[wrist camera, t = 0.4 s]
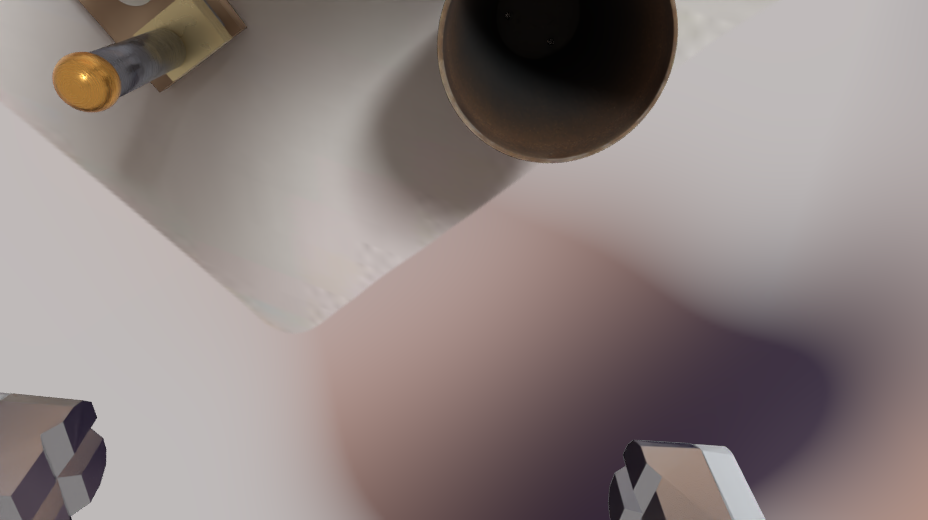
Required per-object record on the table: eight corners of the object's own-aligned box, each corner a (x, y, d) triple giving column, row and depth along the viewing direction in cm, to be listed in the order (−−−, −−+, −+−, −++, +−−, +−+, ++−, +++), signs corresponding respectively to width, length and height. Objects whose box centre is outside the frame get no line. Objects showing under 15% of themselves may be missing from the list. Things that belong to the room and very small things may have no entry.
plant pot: (415, 34, 52) (391, 78, 38) (520, -132, 45) (538, -153, 32) (547, 131, 56) (569, 202, 42) (660, -9, 49) (730, 21, 36)
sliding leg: (236, 36, 50) (146, 81, 37) (183, 77, 52) (78, 134, 38) (199, -12, 48) (89, 17, 35) (145, 32, 50) (21, 76, 37)
